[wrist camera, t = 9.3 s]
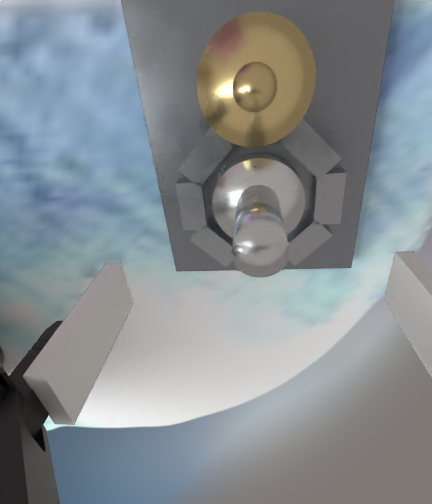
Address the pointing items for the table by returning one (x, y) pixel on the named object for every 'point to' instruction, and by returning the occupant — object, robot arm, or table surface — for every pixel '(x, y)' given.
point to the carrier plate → (288, 148)
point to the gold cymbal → (256, 79)
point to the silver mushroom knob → (259, 211)
